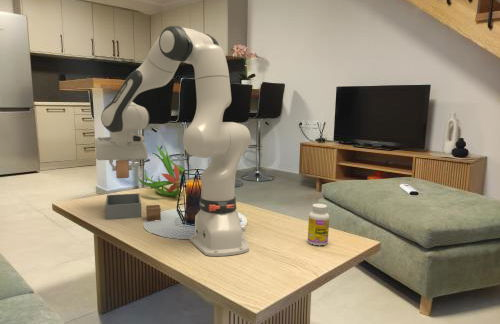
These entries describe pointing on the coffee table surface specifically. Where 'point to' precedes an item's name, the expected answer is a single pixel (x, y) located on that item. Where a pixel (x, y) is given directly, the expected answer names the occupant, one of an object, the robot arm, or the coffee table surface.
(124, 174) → the terracotta cylinder
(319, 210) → the supplement bottle
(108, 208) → the tote
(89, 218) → the coffee table surface
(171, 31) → the robot arm
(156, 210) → the walnut cube
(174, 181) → the decorative plant
